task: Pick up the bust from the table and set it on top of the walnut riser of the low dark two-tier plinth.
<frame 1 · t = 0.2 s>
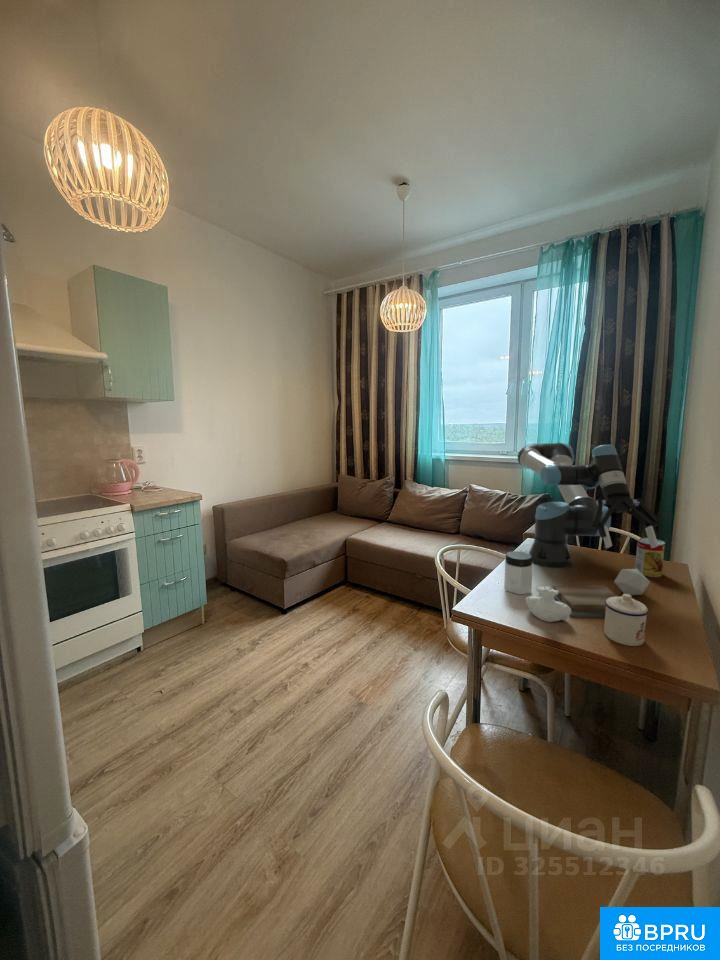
hand: (631, 546, 122), 16 cm above the table, tool tilted 35°, fingers open, 13 cm apart
jar: (517, 589, 129), on the table
teacup with lid: (623, 635, 101), on the table
pedestal: (588, 603, 118), on the table
canned food: (648, 573, 139), on the table
die: (630, 593, 124), on the table
bust: (546, 619, 110), on the table
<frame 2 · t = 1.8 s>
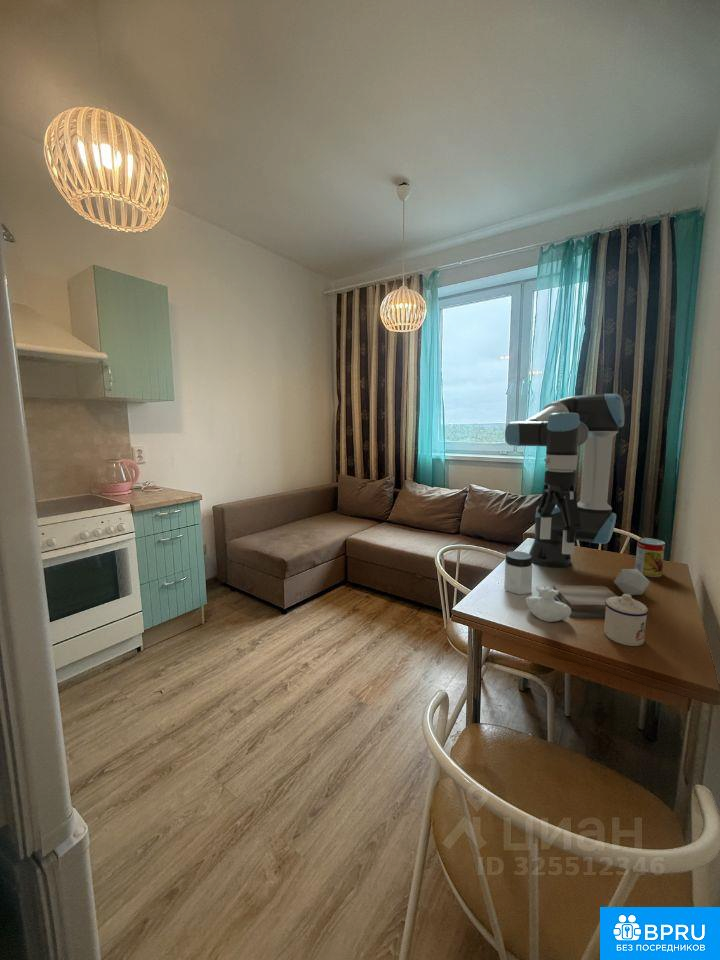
hand: (555, 546, 107), 22 cm above the table, tool pointing down, fingers open, 13 cm apart
nothing on the table moved.
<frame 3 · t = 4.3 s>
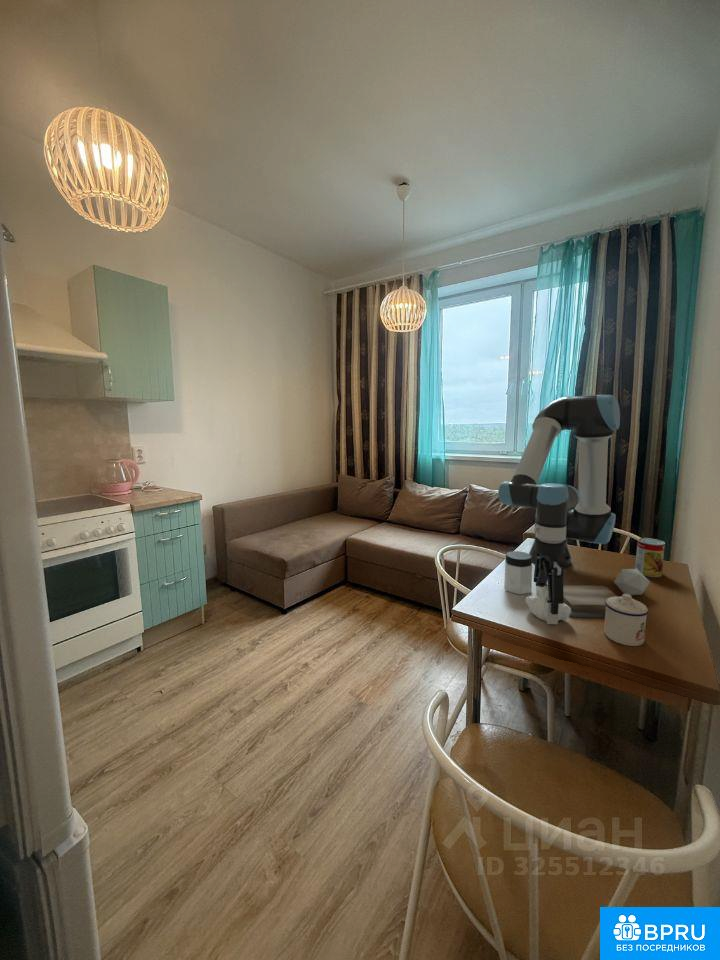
hand: (546, 615, 110), 1 cm above the table, tool pointing down, fingers closed on bust, 7 cm apart
bust: (546, 619, 110), on the table, touching gripper
everything else where it was.
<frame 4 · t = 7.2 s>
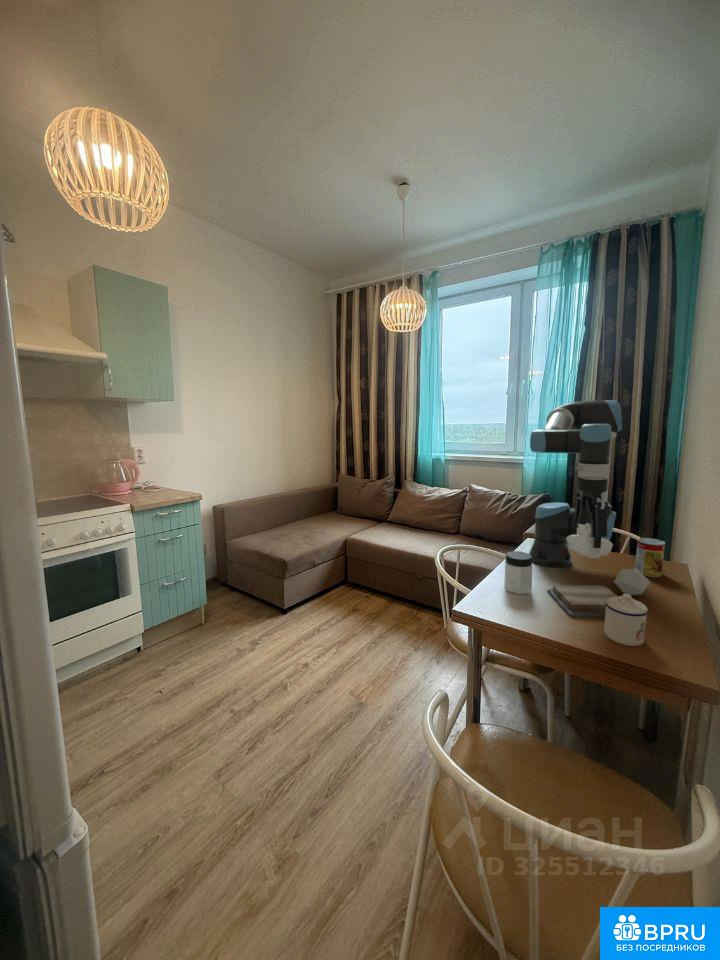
hand: (587, 552, 115), 17 cm above the table, tool pointing down, fingers closed on bust, 7 cm apart
bust: (587, 555, 114), point 16 cm above the table, touching gripper
everything else where it was.
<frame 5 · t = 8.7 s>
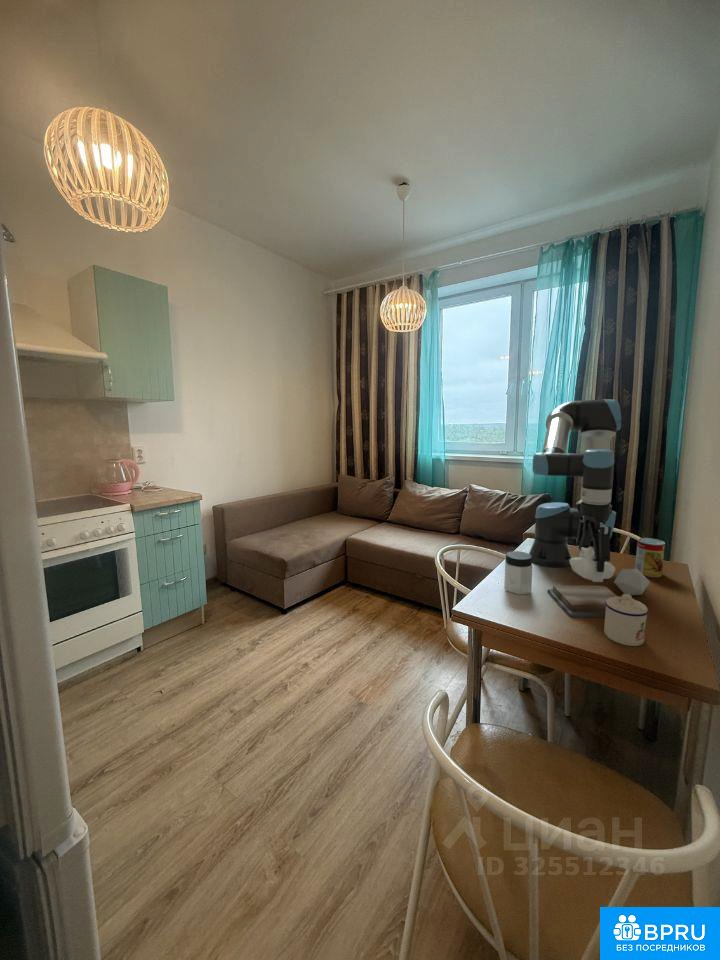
hand: (590, 575, 116), 9 cm above the table, tool pointing down, fingers closed on bust, 7 cm apart
bust: (590, 578, 116), point 8 cm above the table, touching gripper
everything else where it was.
when the fingers open (6 cm above the table, at t = 9.9 s): bust drops 2 cm, resting on pedestal.
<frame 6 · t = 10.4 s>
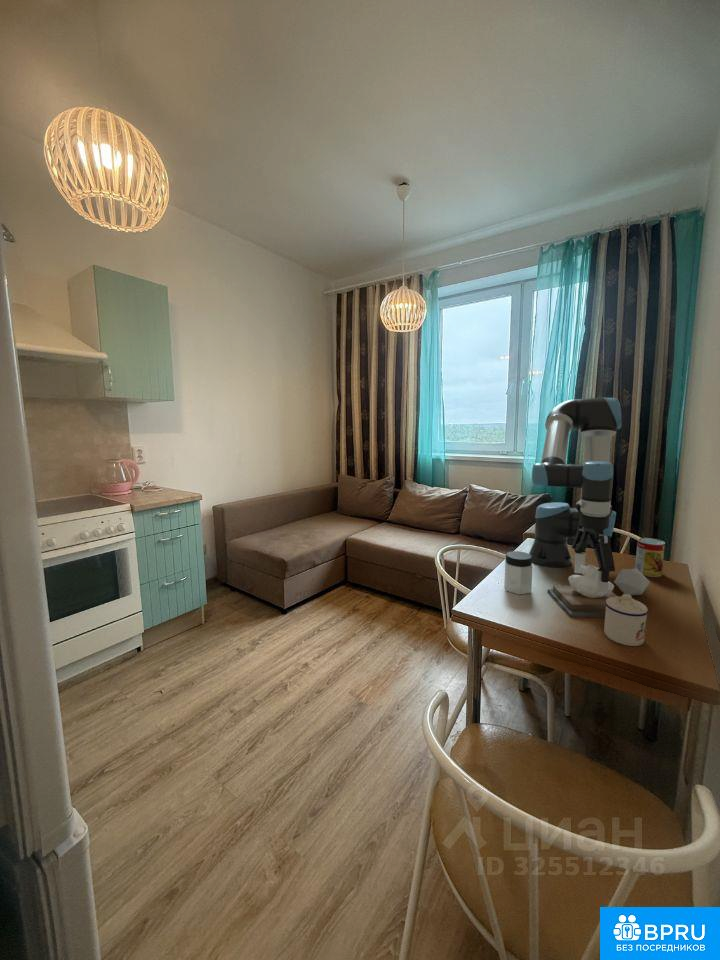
hand: (589, 581, 116), 7 cm above the table, tool pointing down, fingers open, 13 cm apart
bust: (589, 596, 117), point 3 cm above the table, touching pedestal
everything else where it was.
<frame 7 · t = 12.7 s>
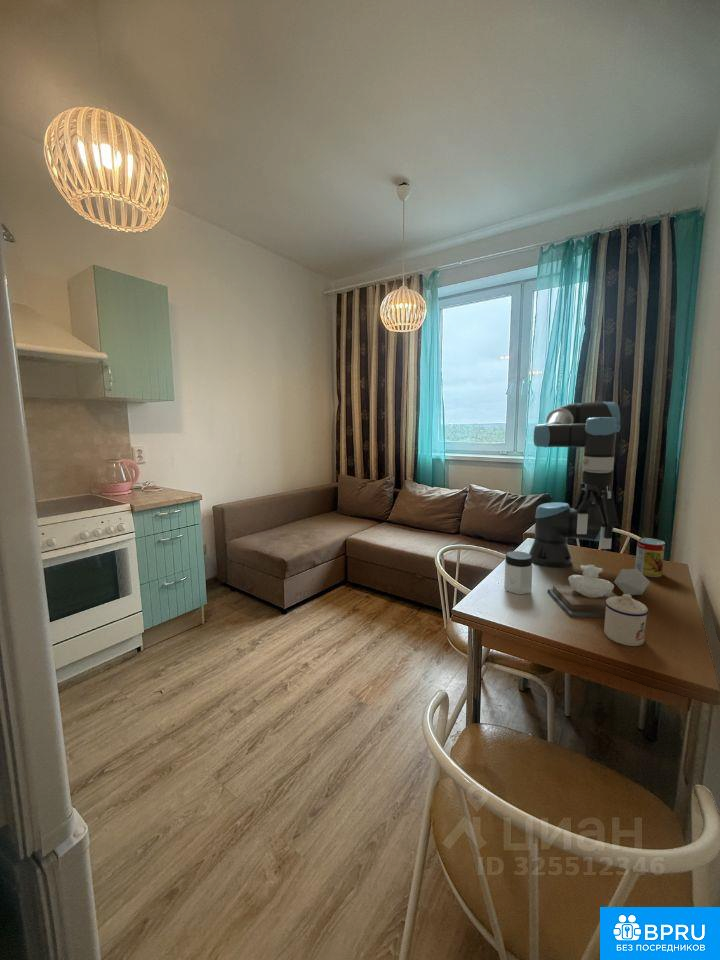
hand: (592, 540, 115), 20 cm above the table, tool pointing down, fingers open, 13 cm apart
nothing on the table moved.
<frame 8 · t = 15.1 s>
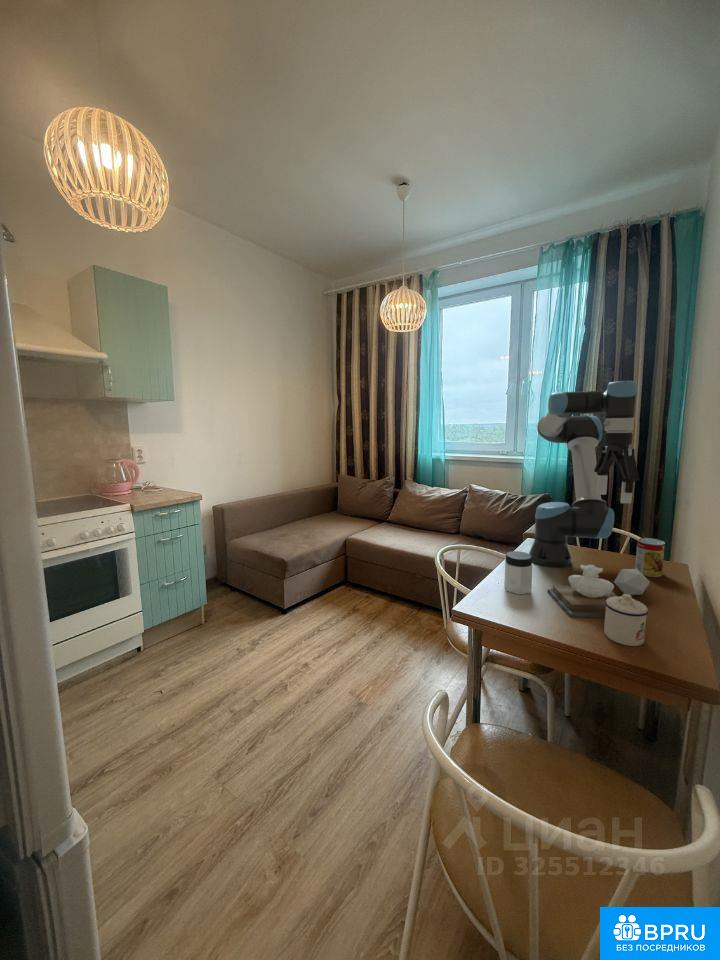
hand: (613, 498, 123), 31 cm above the table, tool pointing down, fingers open, 13 cm apart
nothing on the table moved.
at the end: bust inside the target area on the pedestal (0.6 cm from its centre), point 2.8 cm above the pedestal's base; bust tilted 2°; the gripper is holding nothing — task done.
